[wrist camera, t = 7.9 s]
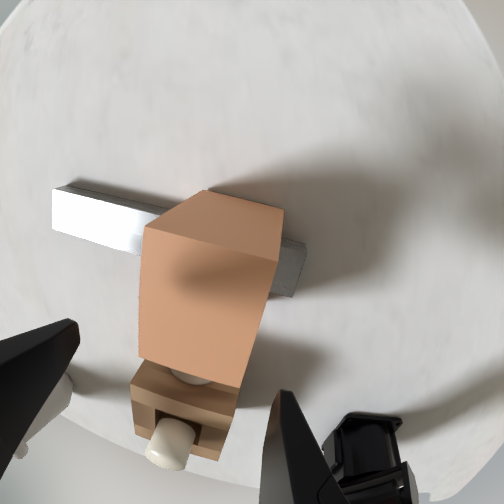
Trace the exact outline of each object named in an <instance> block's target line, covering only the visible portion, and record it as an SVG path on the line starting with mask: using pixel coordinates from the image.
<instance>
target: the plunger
mask: <svg viewBox="0 0 504 504" xmlns="http://www.w3.org/2000/svg"><path fill="white" fill-rule="evenodd" d="M195 436H196V433H195V431H194V430H193V429H192V428H191V427H190V426H189V425H187V424H186V423H184V422H182V421H179V420H176V419H172V418H163V419H161V420H159V422H158V424H157V427H156V429H155V431H154V433H153V435H152V438H151V440H150V442H149V444H148V447H147V449H146V451H145V455H146V457H147V458H148V459H149V460H150V461H151V462H153V463H155V464H156V465H158V466H160V467H163V468H166V469H169V470H176V471H180V470H183V469H185V466H186V463H187V460H188V457H189V454H190V451H191V448H192V445H193V442H194V439H195Z"/></svg>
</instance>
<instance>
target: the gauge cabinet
mask: <svg viewBox="0 0 504 504" xmlns="http://www.w3.org/2000/svg"><path fill="white" fill-rule="evenodd" d="M240 387H241V385H240ZM239 391H240V388H236V387H233V386H229V385H225V384H221V383H218V382H214V381H211V380H207V379H204V378H201V377H197V376H194V375H191V374H188V373H184V372H181V371H178V370H175V369H172V368H169V367H166V366H163V365H161V364H158V363H155V362H152V361H149V360H147V359H145V360H144V361H143V363H142V364H141V366H140V368H139V369H138V371H137V372H136V374H135V376H134V377H133V379H132V380H131V382H130V393H131V403H132V412H133V420H134V428H135V434H136V435H138V436H141V437H143V438H146V439H149V440H151V438H152V435H153V433H154V431H155V429H156V427H157V424H158V422H159V420H161V419H163V418H172V419H176V420H179V421H182V422H184V423H186V424H187V425H189V426H190V427H191V428H192V429H193V430H194V431H195V433H196V436H195V439H194V442H193V445H192V448H191V451H190V454H193V455H197V456H200V457H204V458H208V459H211V460H215V461H218V459H219V457H220V454H221V451H222V448H223V446H224V443H225V440H226V437H227V434H228V431H229V429H230V426H231V423H232V420H233V417H234V413H235V408H236V404H237V400H238V395H239Z"/></svg>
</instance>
